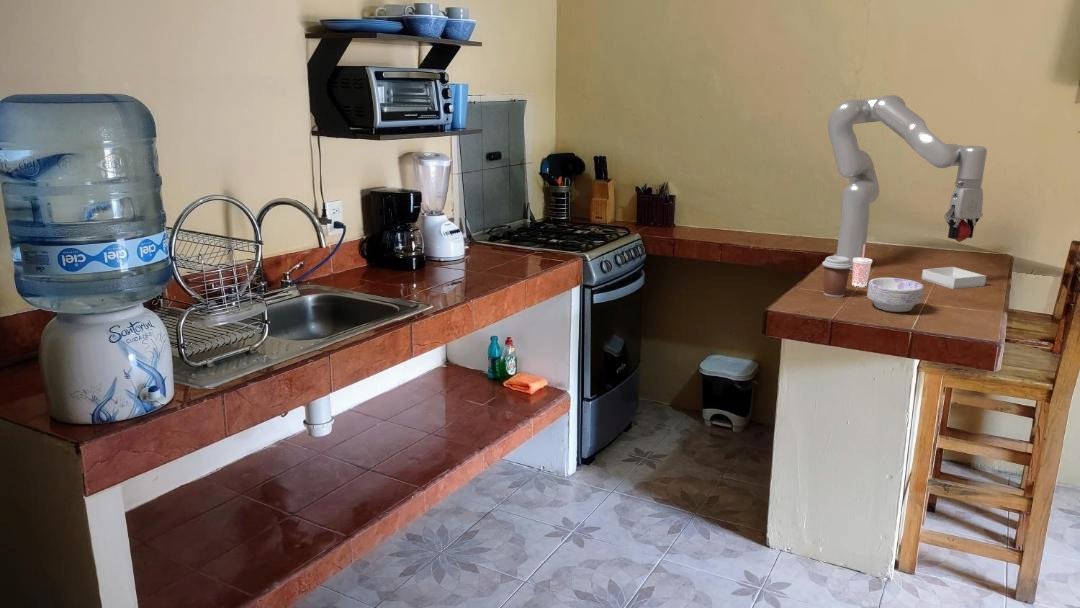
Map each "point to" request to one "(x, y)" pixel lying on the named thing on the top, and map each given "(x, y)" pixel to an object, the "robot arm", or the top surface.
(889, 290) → the paper bowls
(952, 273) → the box
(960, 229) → the onion
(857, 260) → the beverage cup
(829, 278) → the coffee cup
